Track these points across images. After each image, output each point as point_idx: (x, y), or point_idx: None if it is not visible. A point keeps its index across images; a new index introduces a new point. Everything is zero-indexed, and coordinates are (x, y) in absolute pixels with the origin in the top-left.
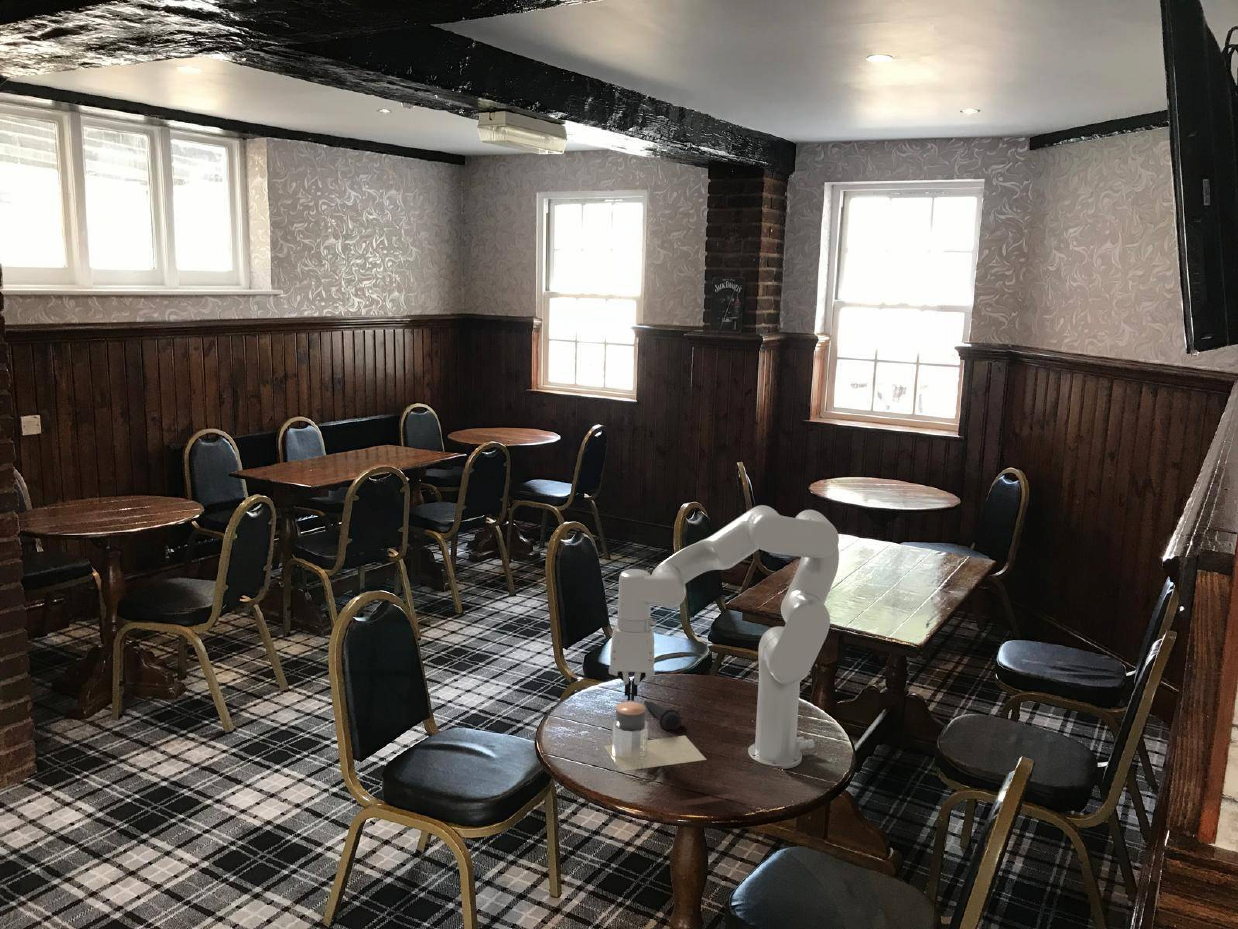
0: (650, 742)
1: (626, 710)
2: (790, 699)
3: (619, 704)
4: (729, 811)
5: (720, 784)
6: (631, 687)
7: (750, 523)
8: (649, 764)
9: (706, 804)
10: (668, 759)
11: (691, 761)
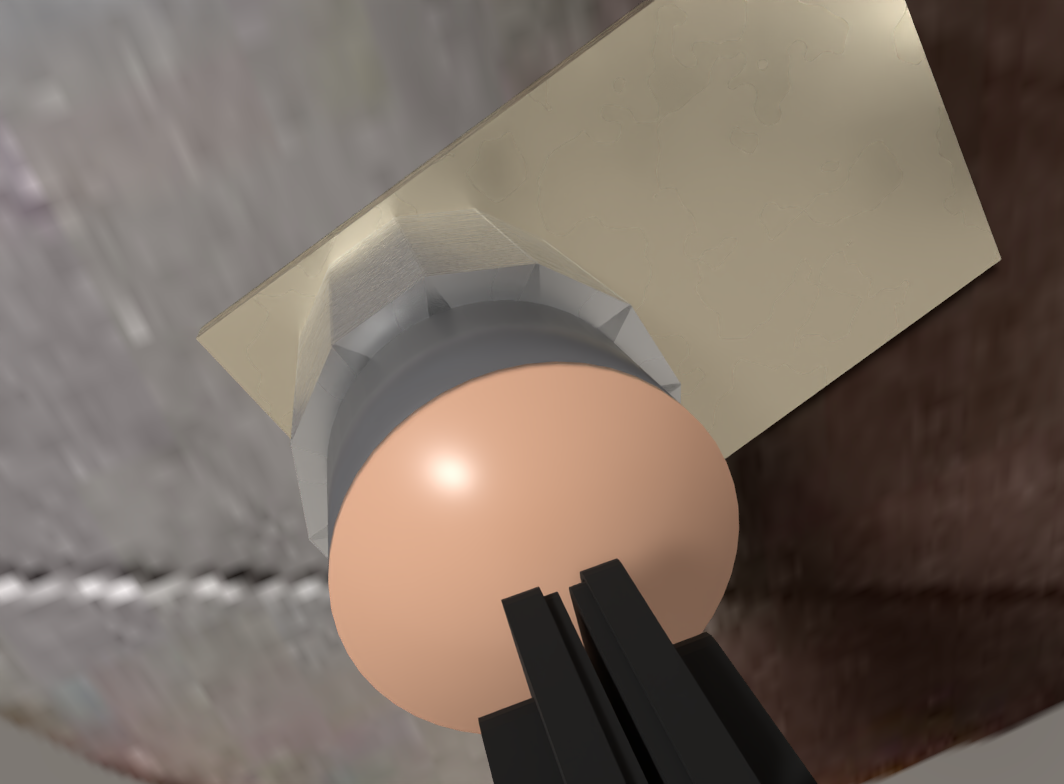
0: (576, 120)
1: (510, 661)
2: None
3: (351, 539)
4: (1051, 682)
5: (1037, 470)
6: (646, 769)
7: None
8: None
9: (957, 677)
10: (755, 361)
11: (905, 326)
